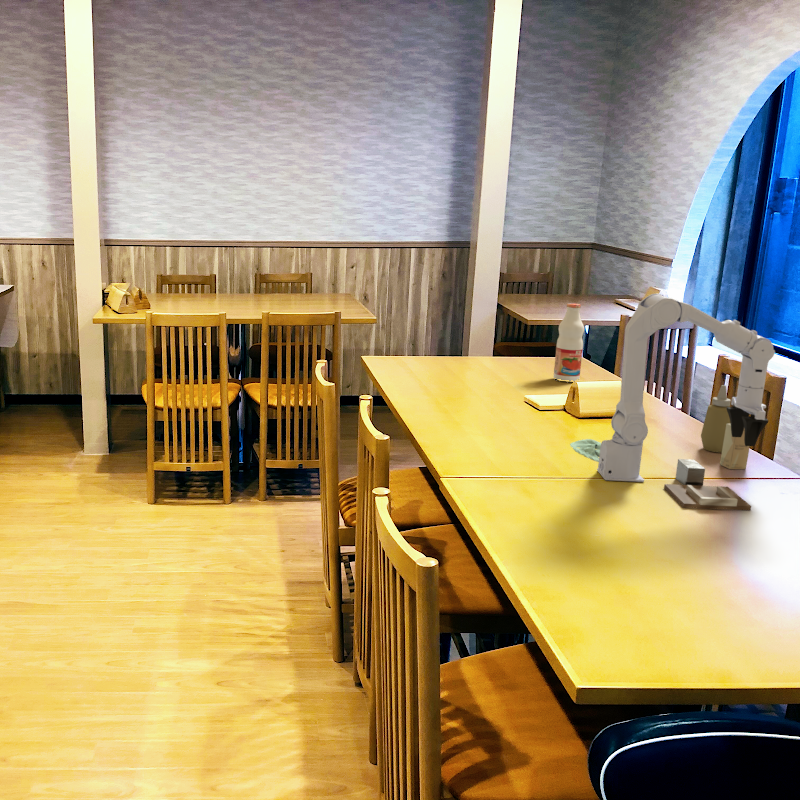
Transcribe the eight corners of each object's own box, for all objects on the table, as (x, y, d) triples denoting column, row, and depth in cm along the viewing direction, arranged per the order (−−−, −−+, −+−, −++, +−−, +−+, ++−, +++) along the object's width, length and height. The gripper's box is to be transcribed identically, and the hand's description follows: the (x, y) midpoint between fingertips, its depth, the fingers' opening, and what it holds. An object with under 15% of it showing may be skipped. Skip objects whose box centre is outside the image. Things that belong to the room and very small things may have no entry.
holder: (684, 508, 191) (685, 497, 191) (664, 488, 205) (665, 477, 204) (751, 511, 192) (753, 500, 192) (727, 490, 205) (728, 480, 205)
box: (729, 469, 222) (735, 427, 219) (719, 464, 226) (725, 423, 223) (747, 469, 223) (753, 427, 221) (736, 463, 227) (742, 422, 225)
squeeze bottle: (732, 455, 235) (742, 390, 230) (700, 452, 236) (710, 387, 232) (727, 447, 242) (736, 384, 238) (697, 444, 244) (705, 381, 240)
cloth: (578, 439, 245) (579, 431, 244) (657, 454, 234) (658, 445, 234) (551, 456, 228) (552, 447, 227) (635, 473, 217) (636, 463, 217)
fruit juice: (568, 376, 327) (575, 302, 321) (584, 382, 319) (592, 305, 312) (548, 378, 323) (555, 302, 316) (564, 383, 315) (571, 305, 308)
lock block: (685, 488, 206) (688, 468, 205) (675, 478, 213) (677, 458, 211) (702, 489, 206) (705, 468, 205) (691, 479, 213) (694, 459, 212)
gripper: (781, 393, 200) (772, 450, 204) (754, 380, 214) (746, 433, 218) (751, 392, 200) (742, 449, 203) (726, 378, 214) (718, 432, 217)
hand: (742, 441), depth 210 cm, fingers open, 7 cm apart
